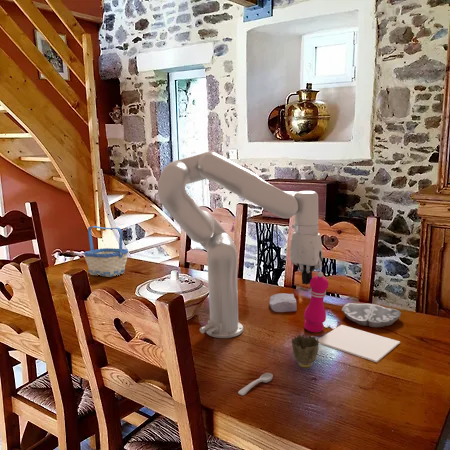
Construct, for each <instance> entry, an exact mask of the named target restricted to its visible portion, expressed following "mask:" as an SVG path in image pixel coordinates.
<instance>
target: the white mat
mask: <svg viewBox="0 0 450 450" xmlns="http://www.w3.org/2000/svg"><path fill="white" fill-rule="evenodd" d="M317 339H318V341H319V345H323V346H326V347H329V348H332V349H334V350H339V351H341V352H344V353H347V354H350V355H353V356H356V357H359V358H363V359H365V360H369V361H371V362H374V363H378V362H379V361H380V360H382V359H383V358H384V357H385V356H387V355H388V354H389V353H390V352H391V351H392V350H394V349H395V348H396V347H398V345H399V344H401V341H399V340H396V339H392V338H390V337H386V336H382V335H378V334H375V333H371V332H368V331H366V330H365V331H364V330H362V329H358V328H354V327H352V326H347V325H345V324H340V325H339V326H337V327H335V328H334V329H332V330H331V331H329V332H327V333H326V334H324V335H323V336H321V337H320V338H317Z"/></svg>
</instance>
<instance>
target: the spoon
mask: <svg viewBox="0 0 450 450" xmlns="http://www.w3.org/2000/svg"><path fill="white" fill-rule="evenodd" d="M273 375H274V374H273V373H271V372H265V373H263V374H261V375H260V376H259V378H257V379H255V380H253V381H251V382H250V383H248V384H247V385H245V386H244V387H242V388H241V389H240V390H238V392H237V394H238V395H240V396H245V395H246V394H247V393H248V392H249V391H250V390H251V389H252V388H253V387H255V386H256V385H258V384H259V383H269V382H271V381H272V380H273V377H274V376H273Z"/></svg>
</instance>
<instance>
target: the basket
mask: <svg viewBox="0 0 450 450" xmlns="http://www.w3.org/2000/svg"><path fill="white" fill-rule="evenodd" d="M92 228H94V229H99V230H100V229H101V230H116V231H118V232H119V239H118V240H119V241H118V242H119V244H118V248H113V247H112V248H111V247H110V248H109V247H108V248H107V247H105V248H99V249H98V248H97V249H94V241H93V235H92ZM87 234H88V242H89V249H90V250H88V251H84V253H83V256H84V259H85V262H86V265H87V268H88V273H89V275H90V276H98V275H100V276H102V277H108V278H112V277H118V275H119V276H121V275H120V274H122V275H124V274H125V269H126V265H127V260H128V253H129V249H128V248H126V249H124V248H123V239H124V238H123V237H124V236H123V235H124V233H123V229H122V228H120V227H103V226H97V225H93V226H89V227H88V229H87ZM123 273H124V274H123ZM97 274H98V275H97ZM116 275H117V276H116Z"/></svg>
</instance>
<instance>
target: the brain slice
mask: <svg viewBox="0 0 450 450" xmlns="http://www.w3.org/2000/svg"><path fill="white" fill-rule="evenodd" d="M341 311H342V312H343V313H344V314H343V315H345V317H346V318H347V319H348V320H349V321H352V322H354V323H355V324H358V325H360V326H365V327H367V326H369V327H370V328H383V327H388V326H392V325H393V324H394V323H395V322H396V321H398V320H399V319H400V318H401V316H402V312H401V310H399V309H396V308H389V307H384V306H382V305H379V304H377V303H375V304H374V303H355V302H354V303H353V302H348V303H346V304H344V305H343V306H342V308H341Z"/></svg>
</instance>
